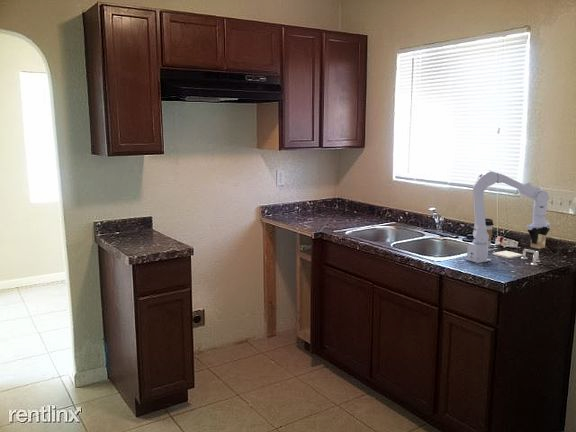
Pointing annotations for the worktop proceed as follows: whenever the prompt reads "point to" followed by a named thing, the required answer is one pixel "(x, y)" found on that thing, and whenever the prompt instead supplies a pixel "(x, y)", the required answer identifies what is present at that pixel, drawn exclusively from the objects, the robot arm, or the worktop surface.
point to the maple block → (539, 242)
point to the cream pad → (507, 254)
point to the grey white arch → (535, 256)
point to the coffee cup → (489, 229)
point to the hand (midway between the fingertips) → (537, 243)
